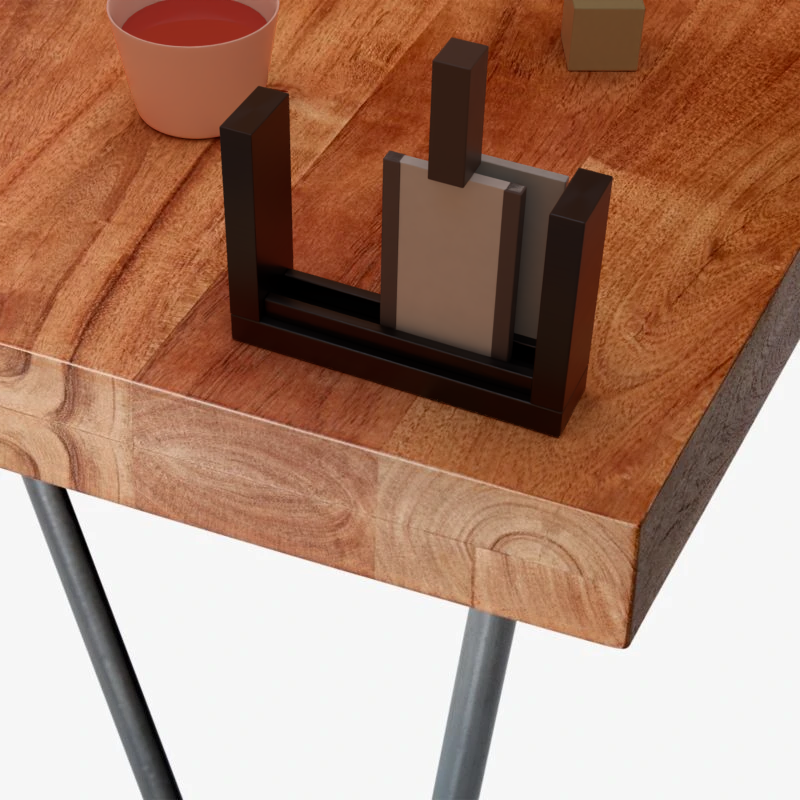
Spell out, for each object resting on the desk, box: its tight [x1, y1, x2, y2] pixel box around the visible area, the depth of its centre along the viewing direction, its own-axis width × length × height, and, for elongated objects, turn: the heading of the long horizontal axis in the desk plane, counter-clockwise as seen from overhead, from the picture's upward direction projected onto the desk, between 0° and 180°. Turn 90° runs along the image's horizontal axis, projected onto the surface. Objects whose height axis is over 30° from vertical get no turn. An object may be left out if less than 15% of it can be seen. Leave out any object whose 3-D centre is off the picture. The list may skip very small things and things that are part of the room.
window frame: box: [219, 86, 614, 438], centre depth 72 cm, size 16×4×12 cm, turn 67°
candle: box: [105, 0, 280, 140], centre depth 89 cm, size 9×9×6 cm
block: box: [560, 0, 647, 72], centre depth 95 cm, size 4×4×4 cm
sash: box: [379, 36, 527, 362], centre depth 69 cm, size 6×2×15 cm, turn 67°
